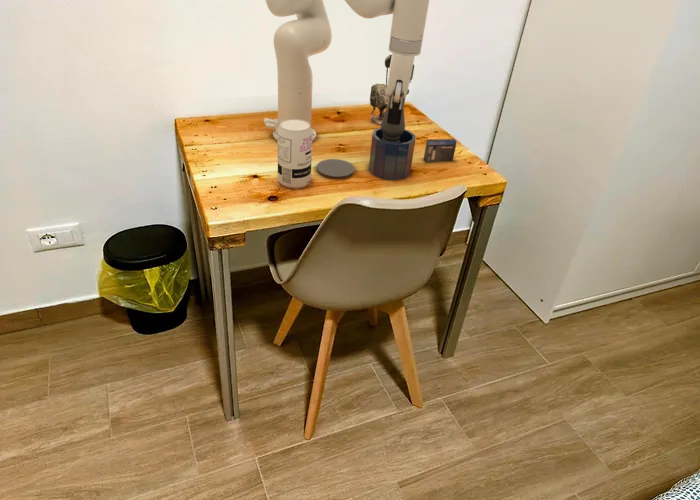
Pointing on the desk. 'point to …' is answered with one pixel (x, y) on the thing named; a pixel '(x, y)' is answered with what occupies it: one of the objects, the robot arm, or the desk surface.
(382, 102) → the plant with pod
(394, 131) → the candle holder
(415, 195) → the desk surface
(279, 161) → the supplement can
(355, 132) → the desk surface
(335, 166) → the coaster
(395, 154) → the crock
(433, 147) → the mini dv tape
